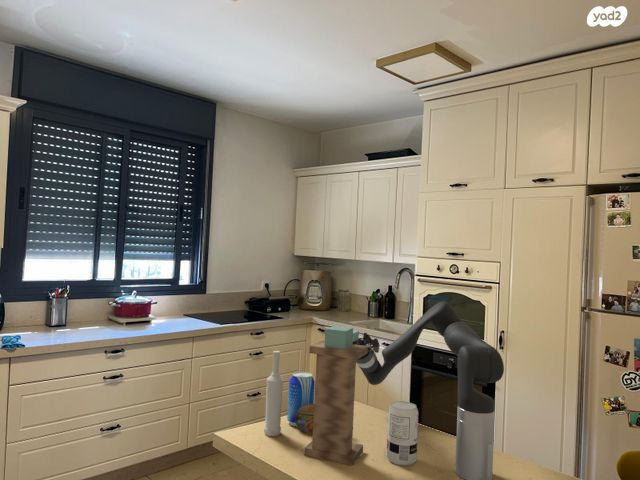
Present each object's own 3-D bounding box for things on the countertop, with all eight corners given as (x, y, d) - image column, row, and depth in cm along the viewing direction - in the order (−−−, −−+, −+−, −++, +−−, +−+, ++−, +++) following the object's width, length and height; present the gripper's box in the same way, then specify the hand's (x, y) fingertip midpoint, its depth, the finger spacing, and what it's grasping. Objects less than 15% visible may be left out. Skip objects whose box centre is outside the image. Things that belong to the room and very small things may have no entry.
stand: (362, 451, 132) (367, 346, 134) (352, 465, 123) (357, 351, 124) (317, 442, 138) (322, 340, 139) (304, 455, 128) (309, 345, 130)
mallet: (364, 339, 144) (364, 323, 145) (344, 349, 127) (345, 331, 127) (345, 337, 147) (346, 321, 147) (324, 346, 129) (325, 328, 129)
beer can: (283, 420, 155) (286, 371, 156) (306, 418, 158) (309, 370, 159) (292, 429, 147) (295, 378, 148) (316, 426, 151) (319, 376, 151)
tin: (294, 431, 146) (295, 404, 146) (295, 427, 149) (297, 401, 149) (342, 435, 144) (343, 408, 144) (342, 432, 147) (343, 405, 148)
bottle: (277, 437, 140) (282, 353, 141) (261, 435, 141) (266, 352, 142) (282, 431, 145) (286, 350, 146) (266, 429, 146) (271, 349, 147)
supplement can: (381, 455, 131) (383, 401, 131) (406, 452, 134) (408, 399, 134) (395, 468, 123) (398, 410, 124) (422, 464, 126) (424, 408, 127)
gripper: (344, 340, 159) (331, 320, 146) (385, 345, 154) (375, 325, 141) (340, 361, 155) (326, 343, 142) (381, 367, 150) (371, 348, 137)
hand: (351, 334), depth 142 cm, fingers open, 8 cm apart
